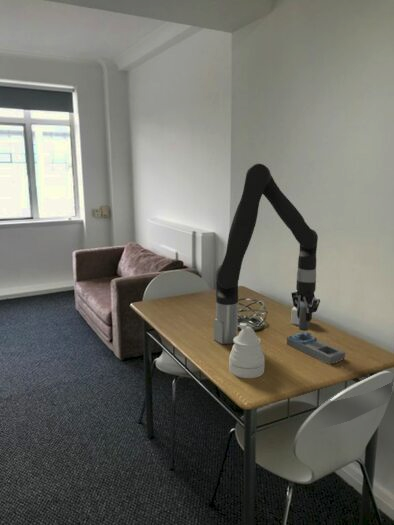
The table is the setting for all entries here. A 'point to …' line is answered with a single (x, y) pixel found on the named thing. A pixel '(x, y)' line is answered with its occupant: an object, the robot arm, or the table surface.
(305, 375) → the table surface
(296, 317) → the medicine bottle
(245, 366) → the honey pot
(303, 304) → the plug
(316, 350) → the gray socket base
